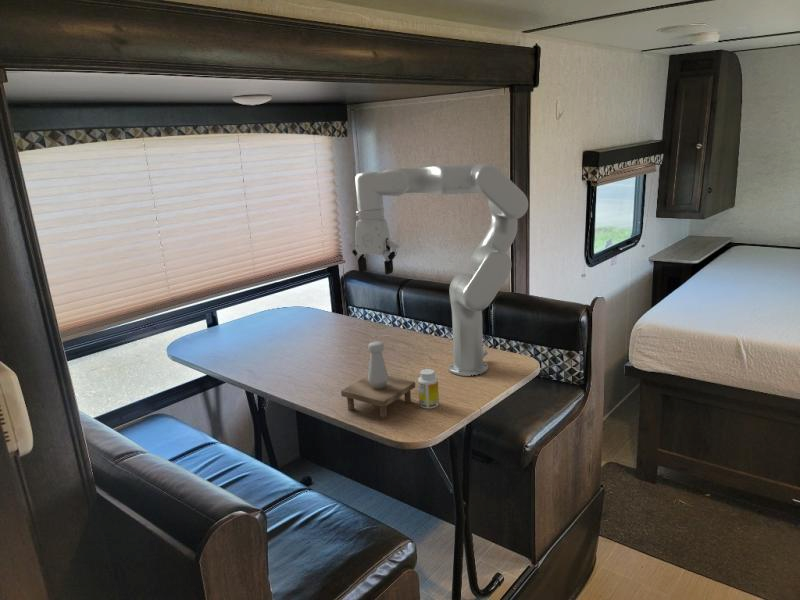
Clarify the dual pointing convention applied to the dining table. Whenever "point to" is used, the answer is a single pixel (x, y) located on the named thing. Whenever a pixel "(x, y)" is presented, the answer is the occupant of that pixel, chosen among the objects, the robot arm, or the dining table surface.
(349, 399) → the small wooden table
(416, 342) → the dining table surface
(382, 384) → the salt shaker
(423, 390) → the supplement bottle
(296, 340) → the dining table surface
